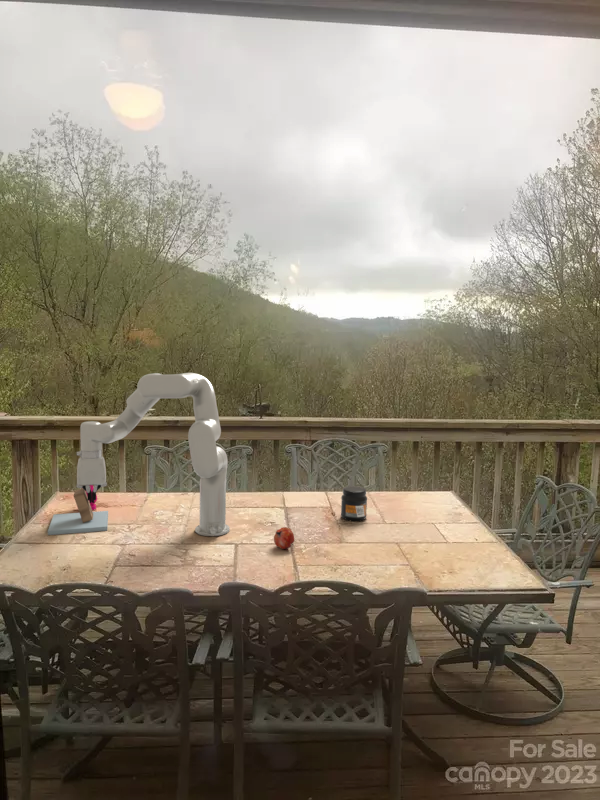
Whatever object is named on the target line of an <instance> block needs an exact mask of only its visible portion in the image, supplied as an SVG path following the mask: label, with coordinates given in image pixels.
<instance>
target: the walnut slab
mask: <svg viewBox="0 0 600 800" xmlns="http://www.w3.org/2000/svg"><path fill="white" fill-rule="evenodd" d="M73 499H74V501H75V503H76V507H77V510H78V513H80V516H81V518H82V521H83V523H84V522H87V521H90V520H93V512H94V510H93V511H92V509H91V506H90V503H89V500H88V497H87V494H86V491H85V490H84V489H83V488H78V489H77V490H76V489H75V491H74V493H73Z"/></svg>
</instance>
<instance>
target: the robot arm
mask: <svg viewBox="0 0 600 800" xmlns="http://www.w3.org/2000/svg"><path fill="white" fill-rule="evenodd" d="M187 397H188V398H189V397H191V398H192V399H193V404H192V405H193V413H194V421H195V422H193V423H192V425H191V426H190V427H189V429H188V433H187V434H188V435H187V440H188V446H189V452H190V453H189V454H190V461H191V465H192V469H193V471H194V473H195V474H196V475H197V476H198V477H200V479H199V525H197V526H195V528H194V529H195V530H194V531H195V533H196V534H197V535H199V536H205V537H219V536H223V535H225V534H227V533H229V532H230V531H231V530H230V526H229V525H228V524H226V512H227V511H226V506H227V505H226V504H227V492H226V491H227V471H228V464H229V463H228V462H229V461H228V460H229V459H228V454H227V453H226V451H225V450H224V448H222V447H220V446H217V442H216V441H218V440H219V439H220V437H221V435H222V434H221V433H222V428H221V424H220V422H221V421H220V417H219V415H220V414H219V410H218V406H217V404H218V403H217V398H216V392H215V390H214V386H213V385H212V383H211V382H210V381H209V379H208V378H206V376H203V375H201V374H199V373H196V372H195V373H194V372H184V373H176V374H175V373H174V374H162V373H158V372H155V373H148V374H145V375H142V377H140V378H139V380H138V382H137V387H136V389H135V390H134V391H133V392H132V393H131V394H130V395H129V396H128V397H127V399H126V401H125V403H126V407H125V409H124V410H123V411H122V412H121V413H120V414H119V415H118V416H117V418H115V419H114V420H112V421H108V422H104V423H101V422H99V421H93V420H91V421H84V422H81V424H80V428H79V431H80V432H79V433H80V451H76V456H78V457H79V458H78V462H77V466H76V469H77V470H76V488H77V489H82V488H83V489H84V490H85V491H86V492H87V493H88V500H89V502H90V503H94V500H96V495H97V492H98V491H99V490H100V489H101V488H103V487H107V486H108V484H107V469H106V468H107V467H106V460H105V458H104V456H103V444H111V443H114V442H116V441H119V440H122V439H124V438H125V437H127V436H128V434H130V433H131V432H132V431H133V430H134V429H135V428H136V427H137V425H138V424H139V423H140V422H141V421H142V419H143V418H144V417H145V415H146V414H147V412H149V411H150V410H151V409H152V408H153V407H154V405H155V404H157V403H158V401H160V399H184V398H187ZM90 485H93V488H94V489H93V491H91V489H90Z"/></svg>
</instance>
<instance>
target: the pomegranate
mask: <svg viewBox="0 0 600 800" xmlns="http://www.w3.org/2000/svg"><path fill="white" fill-rule="evenodd" d="M273 535H274V536H273V542H274V544H275V546H276V547H277V548H280V549H282V550H288V549H290V548H291V546H294V542H295V535H294V532H293V531H292V529H291V528H289V527H288V526H287V527H286V526H284V527H281V528H279V529H277V530H276V531H275V534H273Z"/></svg>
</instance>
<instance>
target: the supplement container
mask: <svg viewBox="0 0 600 800" xmlns="http://www.w3.org/2000/svg"><path fill="white" fill-rule="evenodd" d="M340 499H341V503H340V504H341V505H340V506H341V507H340V508H341V510H340V511H341V512H340V516H341V518H342V519H344V520H346V521H349V520H351V522H359V521H360V520H361V521H364V520H365V519H366V518H367V515H368V514H367V509H368V507H367V505H368V503H367V502H368V497H367V489H366V488H365V487H363V486H362V487H361V486H358V485H357V486H356V485H355V486H353V485H351V486H350V485H349V486H344V487H343V488H342V495H341V497H340ZM361 521H360V522H361Z"/></svg>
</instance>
